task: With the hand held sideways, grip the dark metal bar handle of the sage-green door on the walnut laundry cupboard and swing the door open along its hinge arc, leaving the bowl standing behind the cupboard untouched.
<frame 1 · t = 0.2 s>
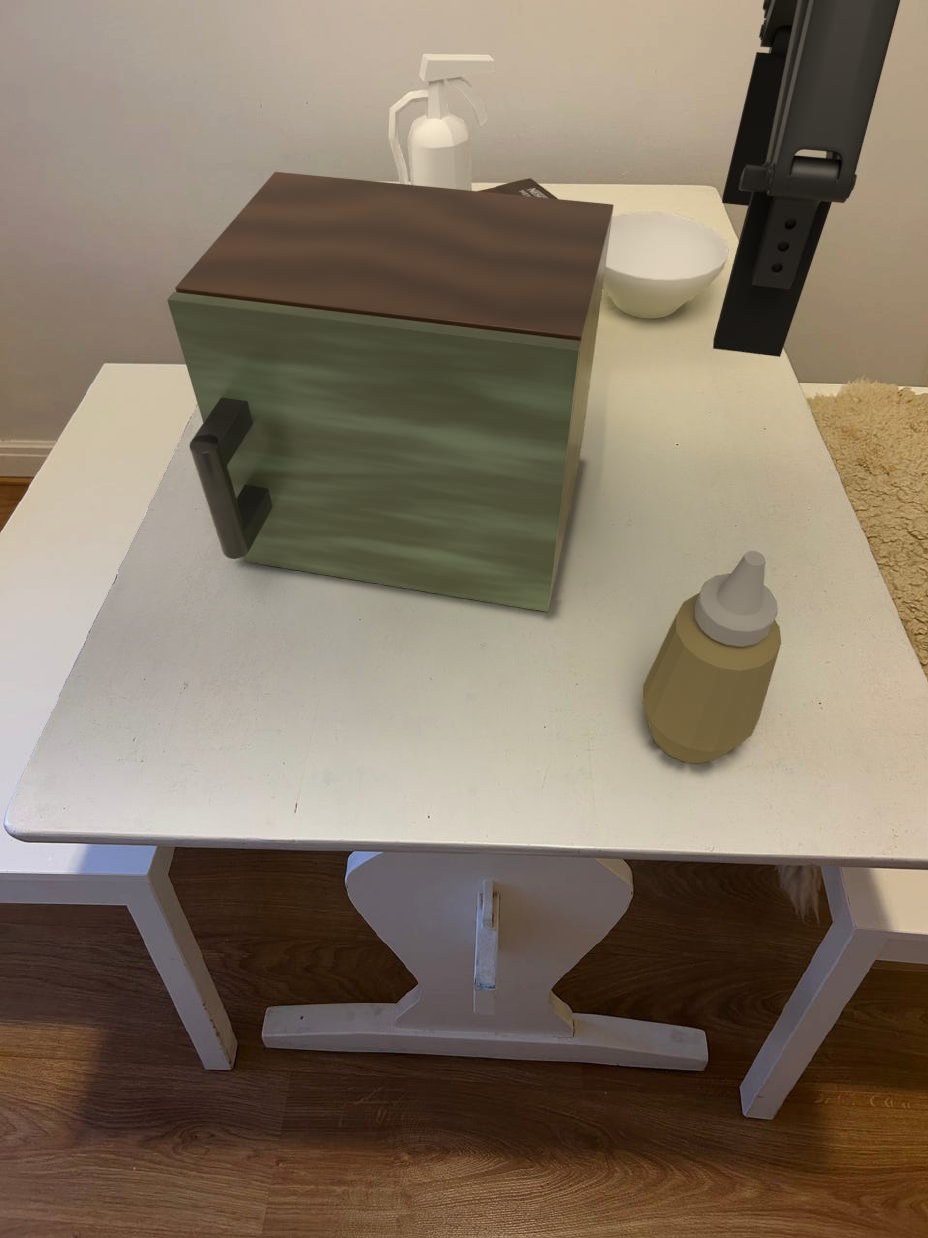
hand: (747, 268, 39), 33 cm above the table, tool pointing down, fingers open, 13 cm apart
cupboard door: (370, 497, 59), point 12 cm above the table, hinge at 0.0°
fire extinguisher: (438, 302, 99), on the table
squeeze bottle: (688, 731, 61), on the table
bowl: (645, 303, 99), on the table
cupboard: (422, 505, 76), on the table
coffee box: (518, 350, 93), on the table
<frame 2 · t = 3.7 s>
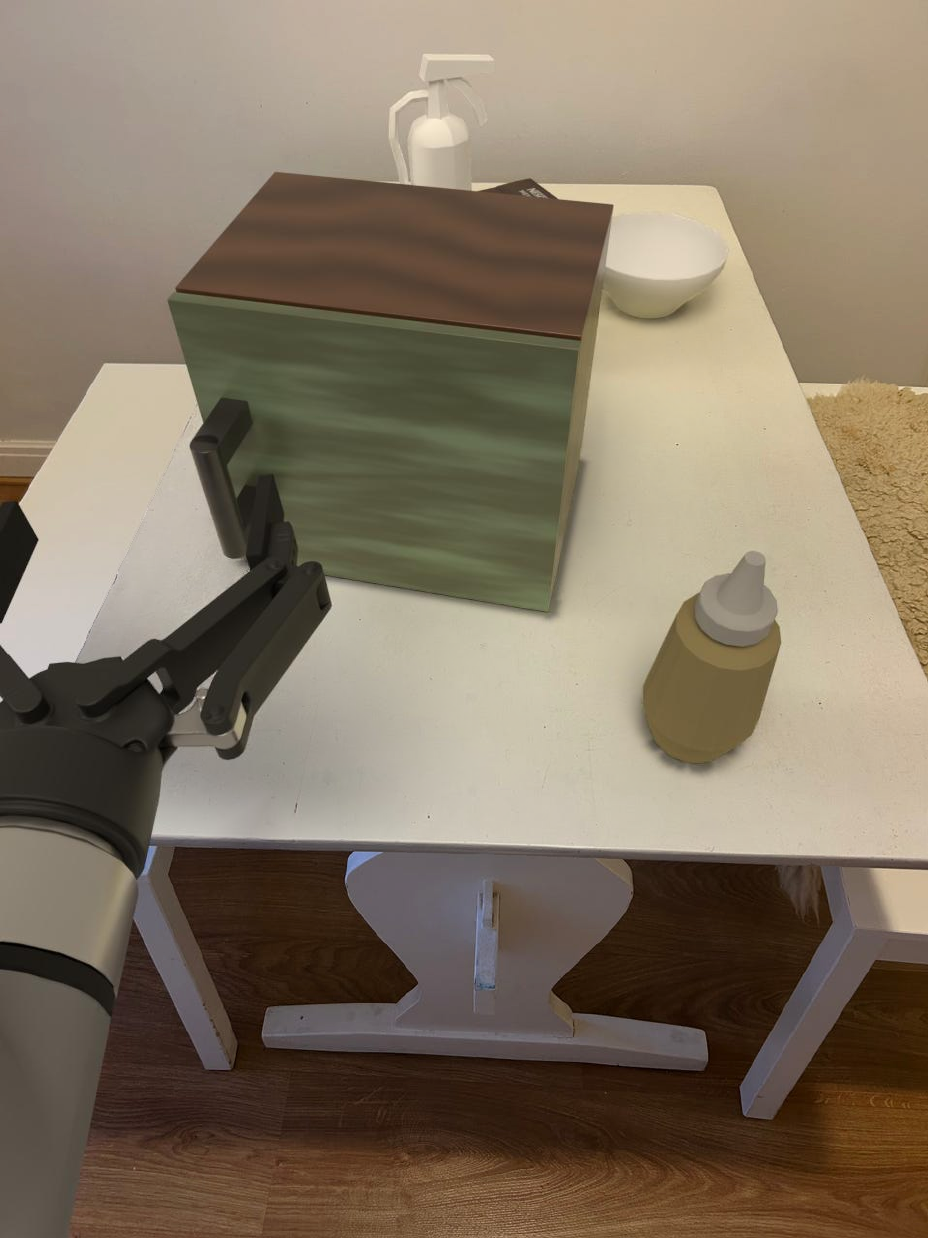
hand: (146, 507, 45), 21 cm above the table, tool horizontal, fingers open, 13 cm apart
nothing on the table moved.
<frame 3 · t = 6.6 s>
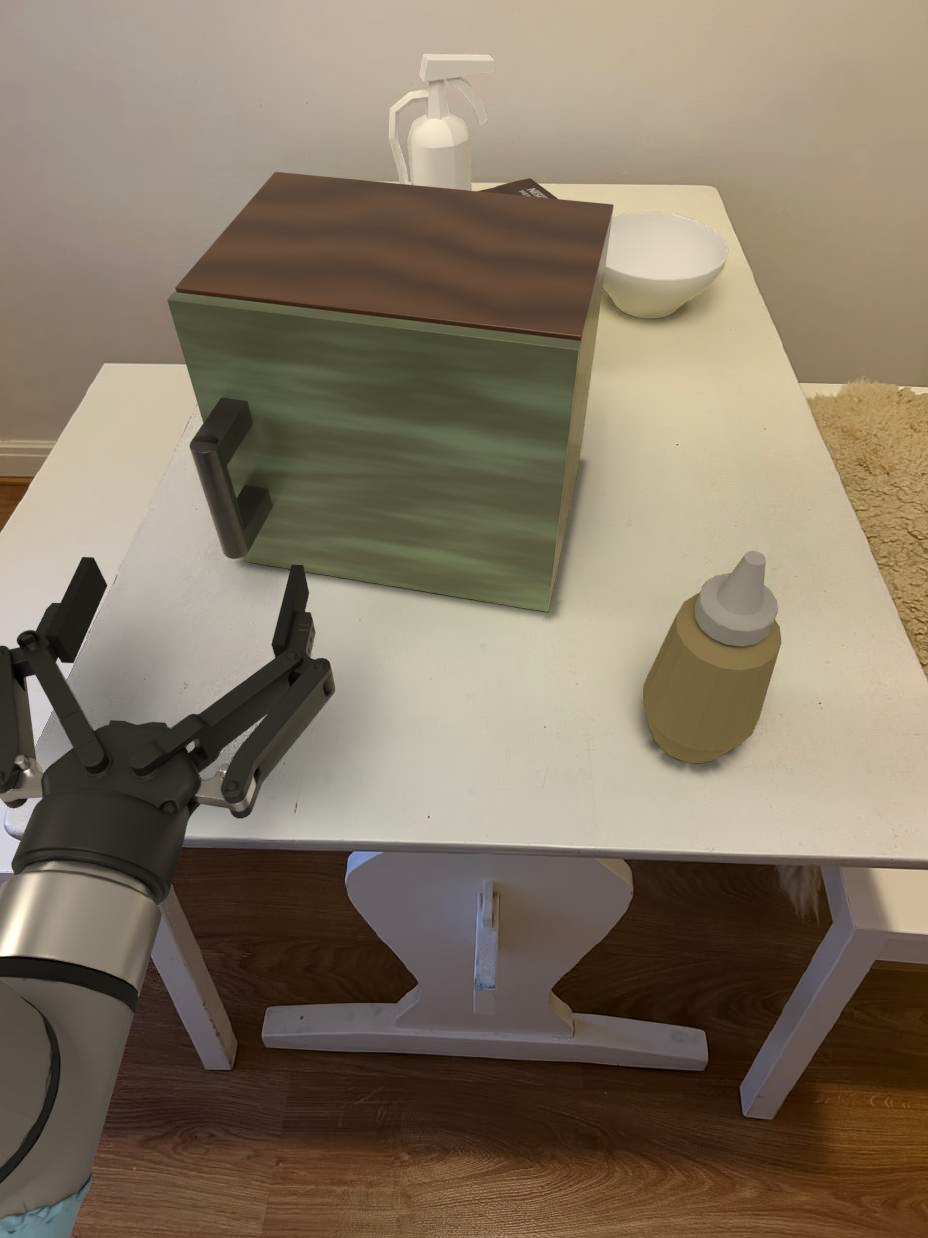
hand: (197, 574, 55), 12 cm above the table, tool horizontal, fingers open, 13 cm apart
nothing on the table moved.
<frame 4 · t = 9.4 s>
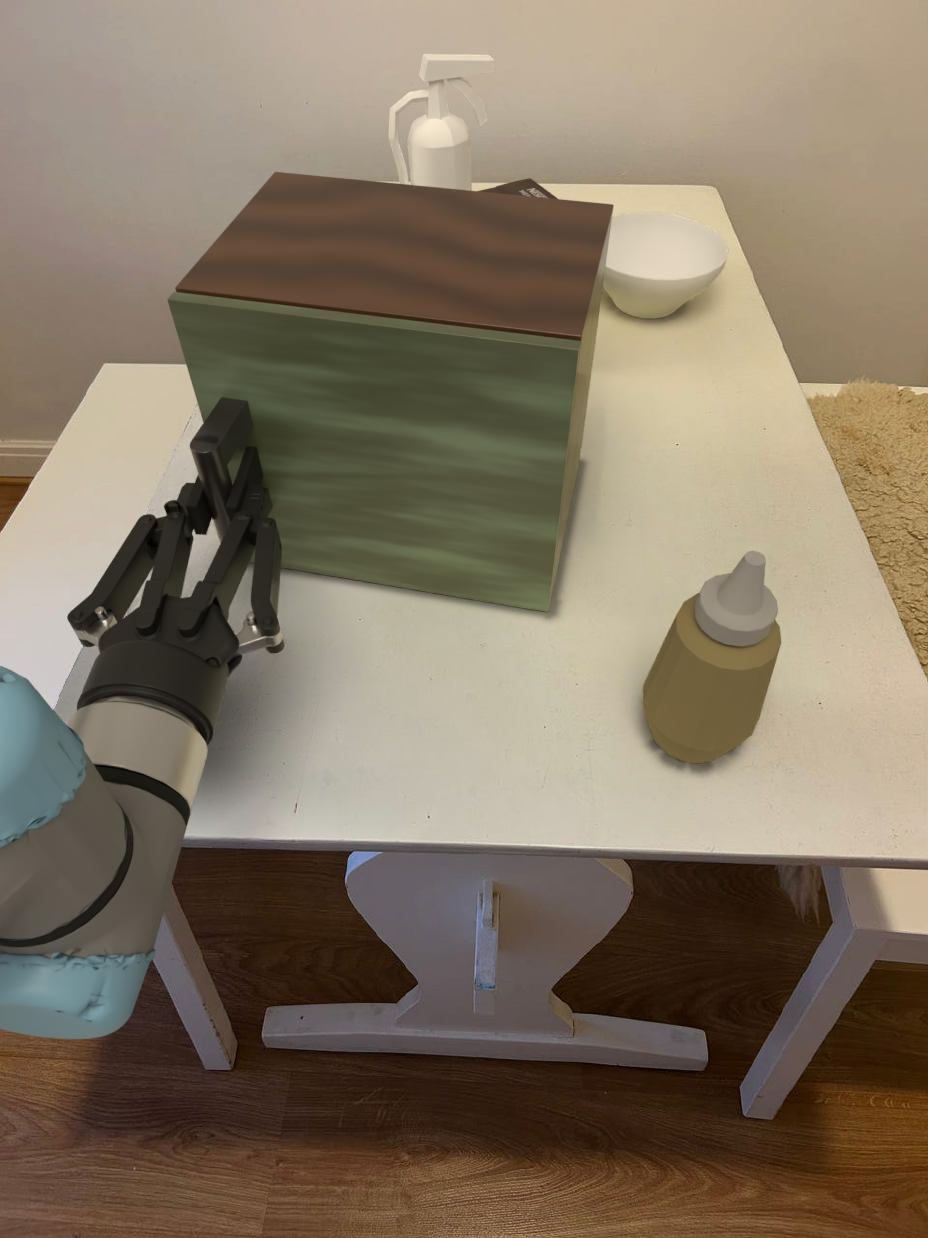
hand: (236, 460, 62), 12 cm above the table, tool horizontal, fingers closed on cupboard door, 2 cm apart
cupboard door: (370, 497, 59), point 12 cm above the table, hinge at -0.1°, touching gripper
everything else where it was.
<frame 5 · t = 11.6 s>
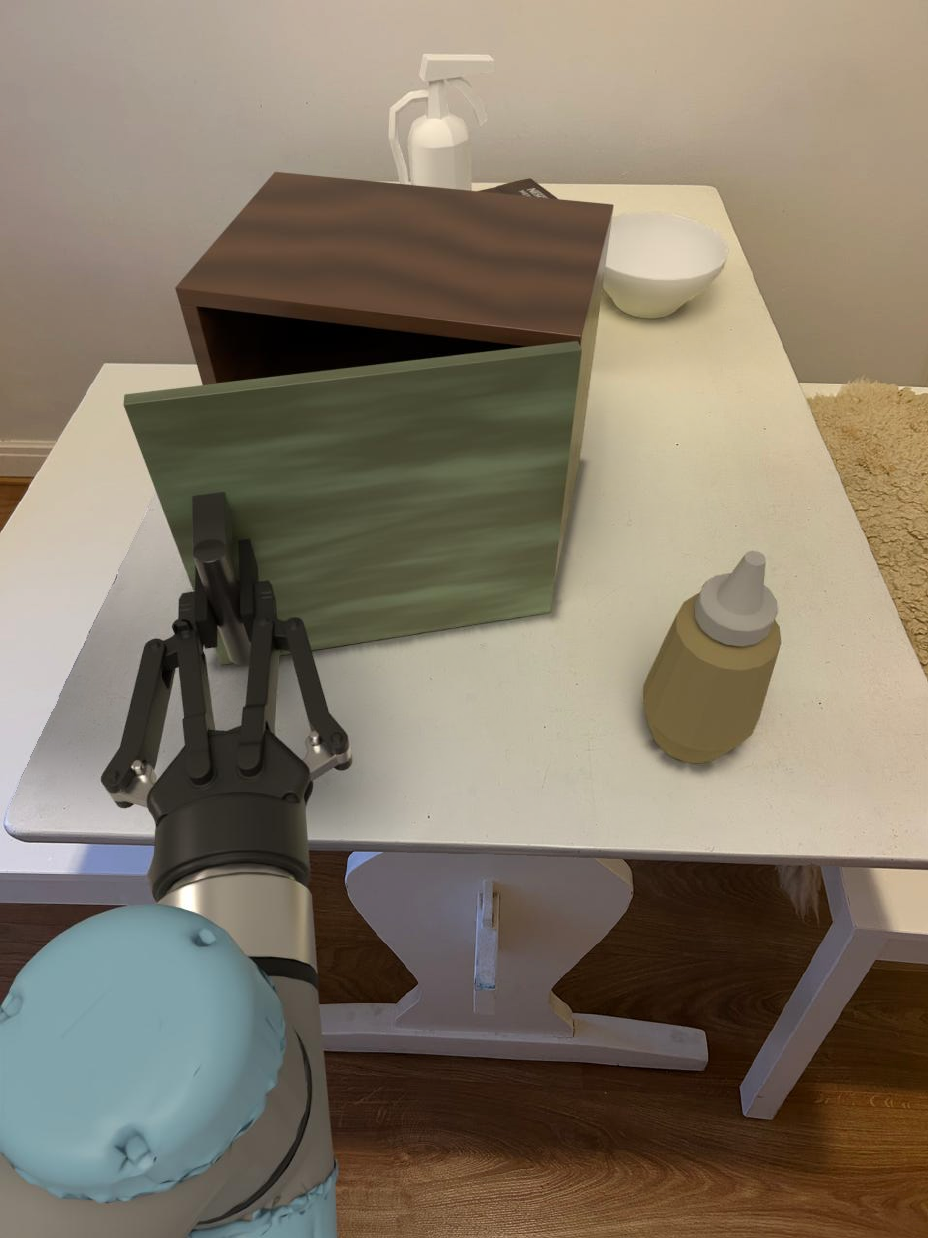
hand: (227, 557, 56), 12 cm above the table, tool horizontal, fingers closed on cupboard door, 2 cm apart
cupboard door: (382, 554, 56), point 12 cm above the table, hinge at 24.2°, touching gripper
everything else where it was.
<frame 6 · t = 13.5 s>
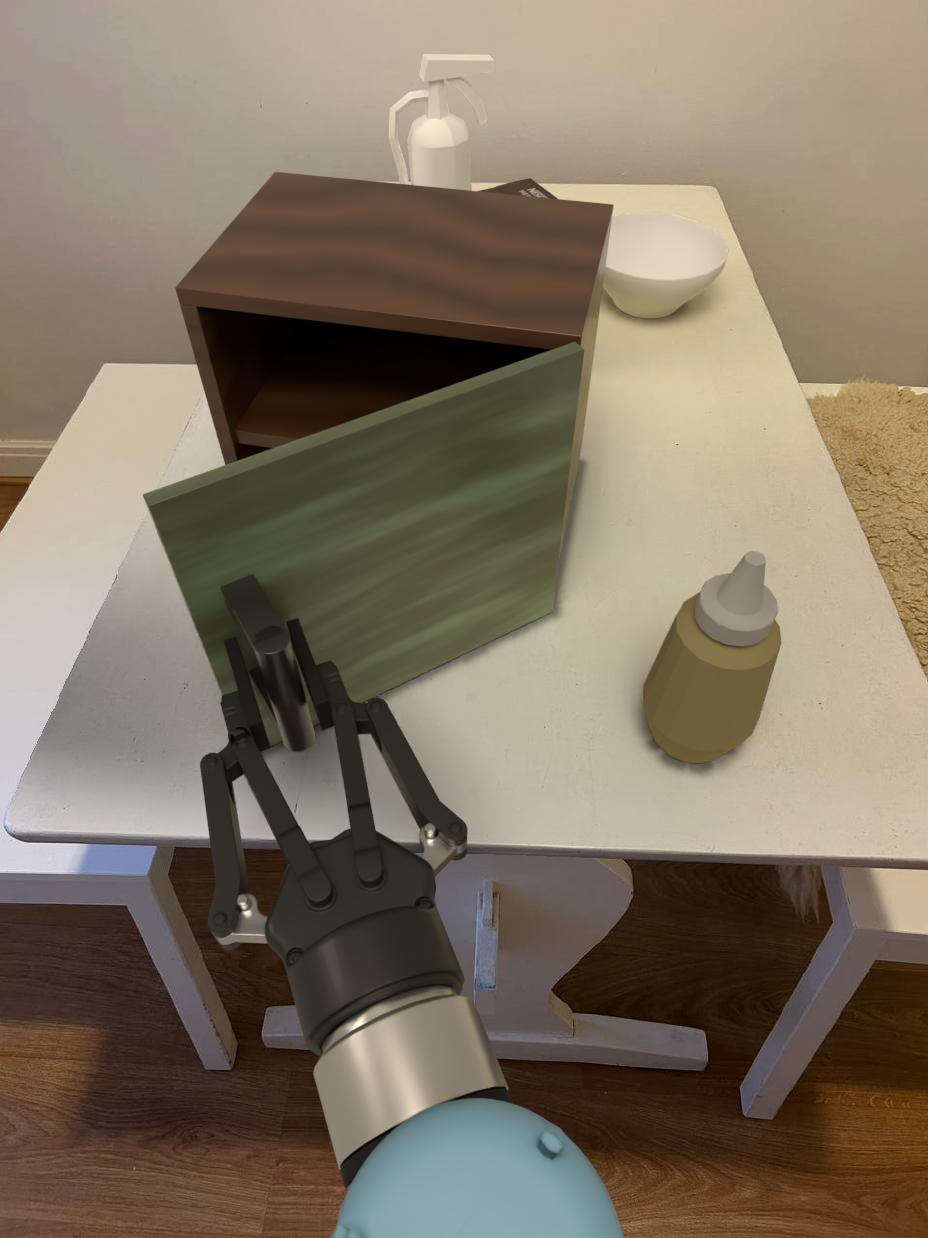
hand: (265, 643, 51), 12 cm above the table, tool horizontal, fingers open, 3 cm apart
cupboard door: (419, 596, 53), point 12 cm above the table, hinge at 43.6°
everything else where it was.
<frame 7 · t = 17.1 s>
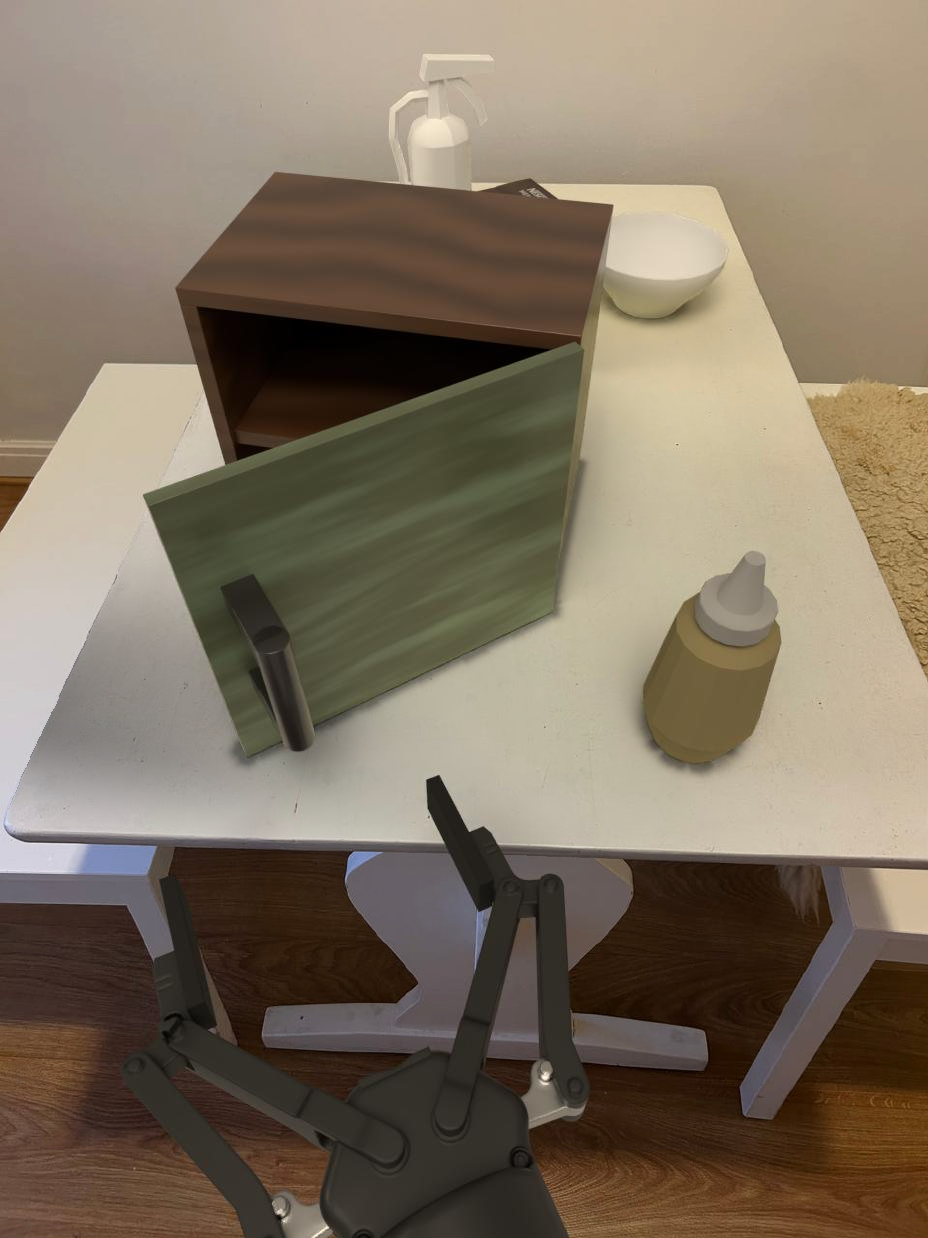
hand: (309, 838, 42), 12 cm above the table, tool horizontal, fingers open, 13 cm apart
nothing on the table moved.
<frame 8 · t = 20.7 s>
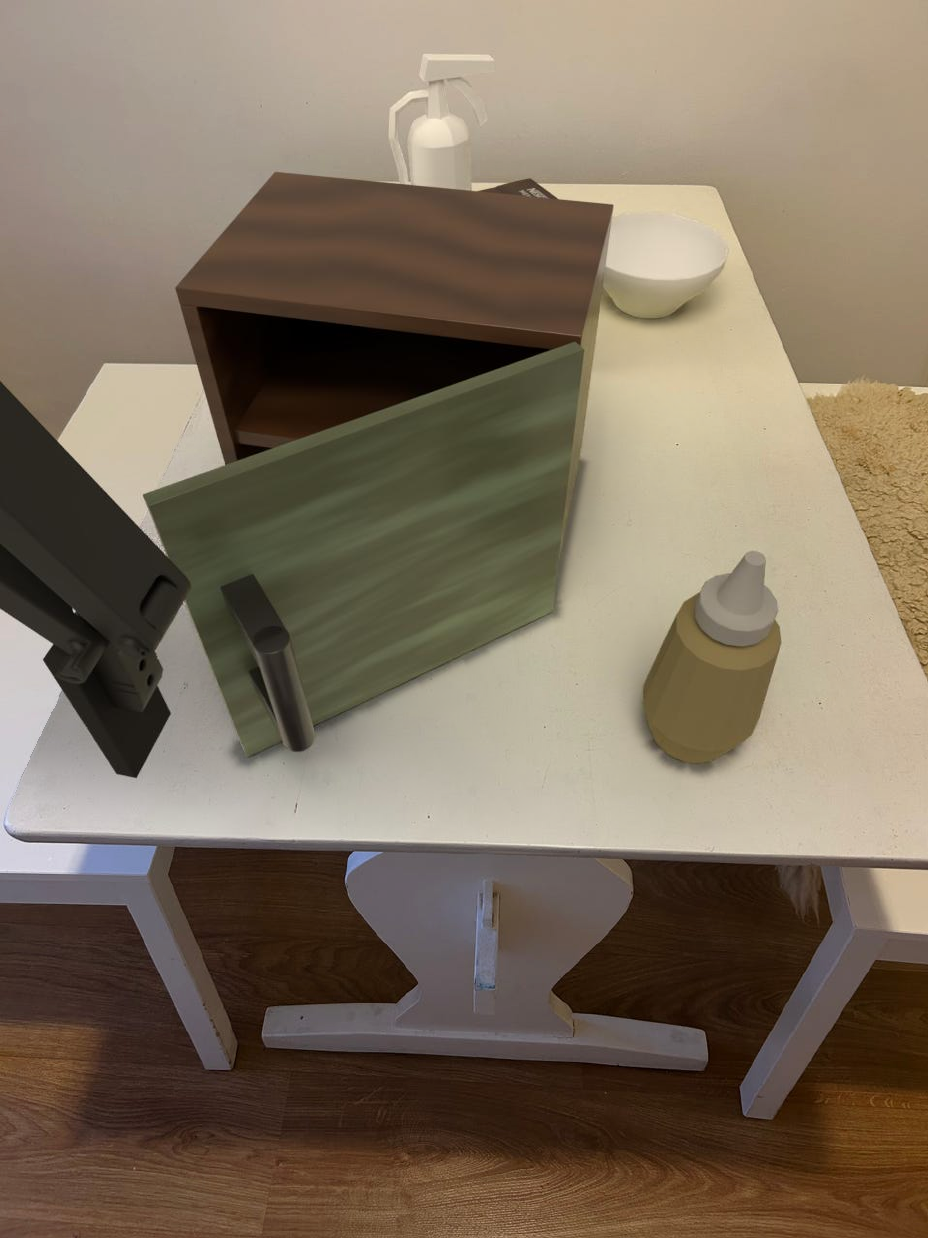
nothing on the table moved.
at the end: cupboard door at +44° (first picture: +0°); bowl moved 0.2 cm from its start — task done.
